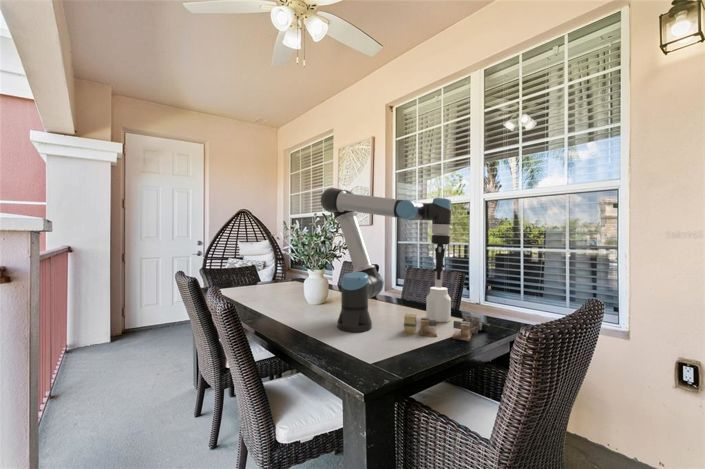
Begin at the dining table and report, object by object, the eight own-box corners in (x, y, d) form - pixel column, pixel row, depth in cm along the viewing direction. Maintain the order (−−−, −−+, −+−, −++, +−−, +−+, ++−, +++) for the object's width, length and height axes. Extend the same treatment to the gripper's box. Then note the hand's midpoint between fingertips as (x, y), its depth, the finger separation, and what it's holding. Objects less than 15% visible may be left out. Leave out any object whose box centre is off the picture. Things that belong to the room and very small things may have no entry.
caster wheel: (484, 334, 144) (489, 337, 134) (458, 326, 147) (460, 329, 137) (487, 319, 145) (492, 321, 135) (461, 311, 147) (464, 314, 137)
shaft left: (420, 335, 133) (420, 320, 133) (419, 329, 141) (420, 315, 141) (436, 336, 132) (437, 321, 132) (435, 330, 140) (435, 316, 140)
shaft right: (452, 338, 130) (452, 323, 130) (455, 332, 137) (455, 318, 137) (469, 340, 127) (469, 325, 127) (471, 335, 134) (472, 320, 134)
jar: (446, 316, 163) (447, 286, 162) (453, 322, 153) (454, 290, 153) (423, 316, 162) (424, 286, 162) (429, 322, 152) (429, 290, 152)
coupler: (403, 332, 136) (404, 316, 136) (405, 329, 141) (405, 313, 141) (415, 334, 135) (415, 317, 135) (416, 330, 139) (416, 314, 139)
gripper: (450, 235, 125) (447, 290, 126) (450, 234, 149) (448, 280, 150) (430, 235, 128) (427, 289, 128) (433, 233, 152) (431, 279, 152)
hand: (438, 284), depth 139 cm, fingers open, 13 cm apart
